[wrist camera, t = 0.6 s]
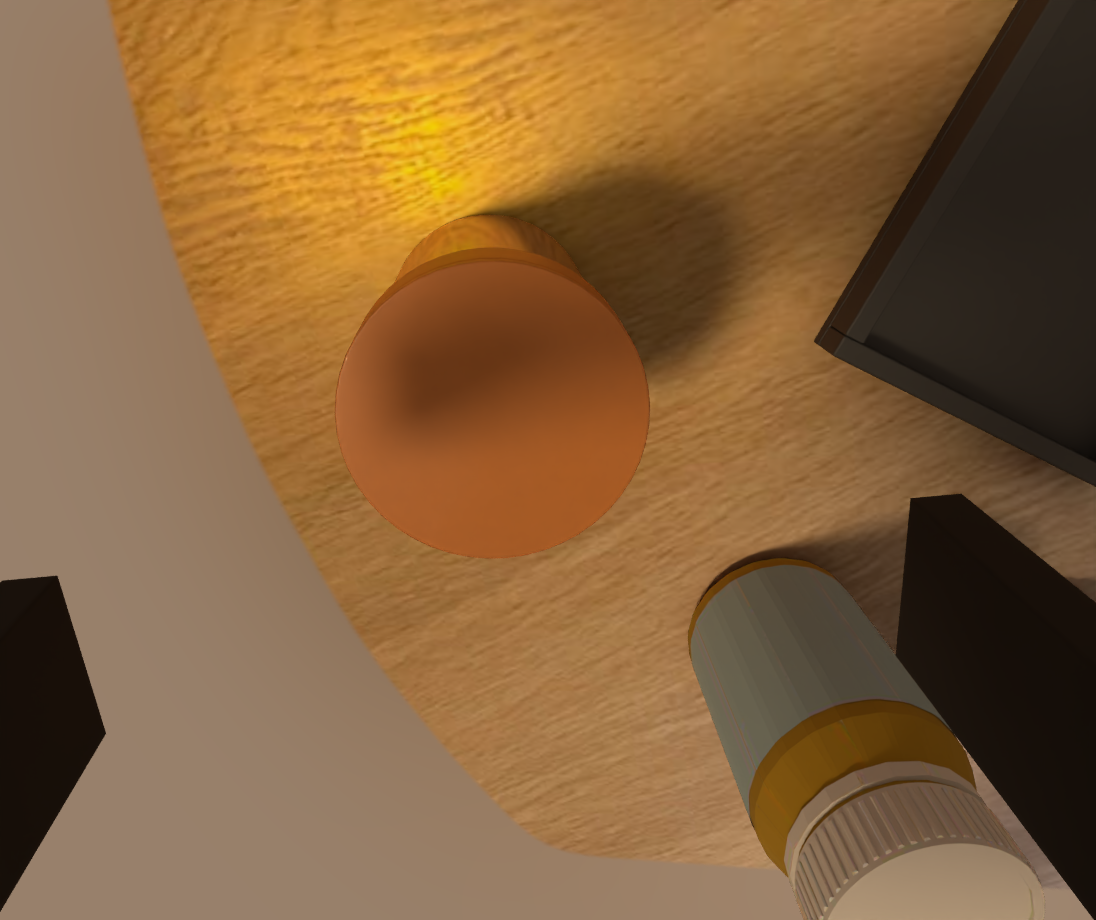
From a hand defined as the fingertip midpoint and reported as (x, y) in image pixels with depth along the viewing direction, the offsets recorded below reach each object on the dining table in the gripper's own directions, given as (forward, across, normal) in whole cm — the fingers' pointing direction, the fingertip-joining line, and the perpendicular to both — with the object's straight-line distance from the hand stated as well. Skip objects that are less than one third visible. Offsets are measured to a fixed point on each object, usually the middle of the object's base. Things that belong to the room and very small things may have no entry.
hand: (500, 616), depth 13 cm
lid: (+9, 0, 0) cm, 9 cm away
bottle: (+20, +10, -14) cm, 27 cm away
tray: (+20, +22, +1) cm, 30 cm away
